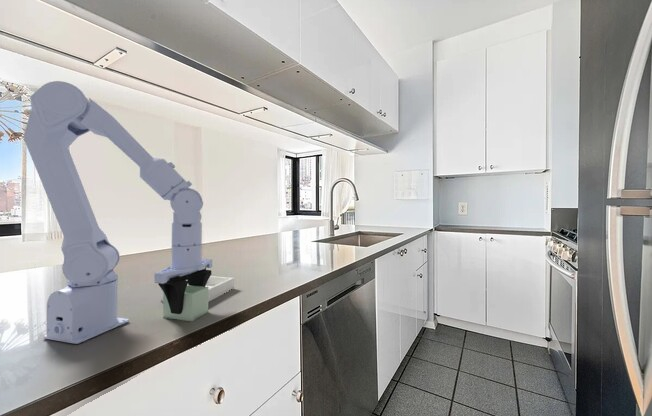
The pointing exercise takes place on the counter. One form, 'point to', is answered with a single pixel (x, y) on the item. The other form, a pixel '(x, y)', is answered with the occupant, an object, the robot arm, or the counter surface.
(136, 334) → the counter surface
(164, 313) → the small crate
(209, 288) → the white shallow tray
